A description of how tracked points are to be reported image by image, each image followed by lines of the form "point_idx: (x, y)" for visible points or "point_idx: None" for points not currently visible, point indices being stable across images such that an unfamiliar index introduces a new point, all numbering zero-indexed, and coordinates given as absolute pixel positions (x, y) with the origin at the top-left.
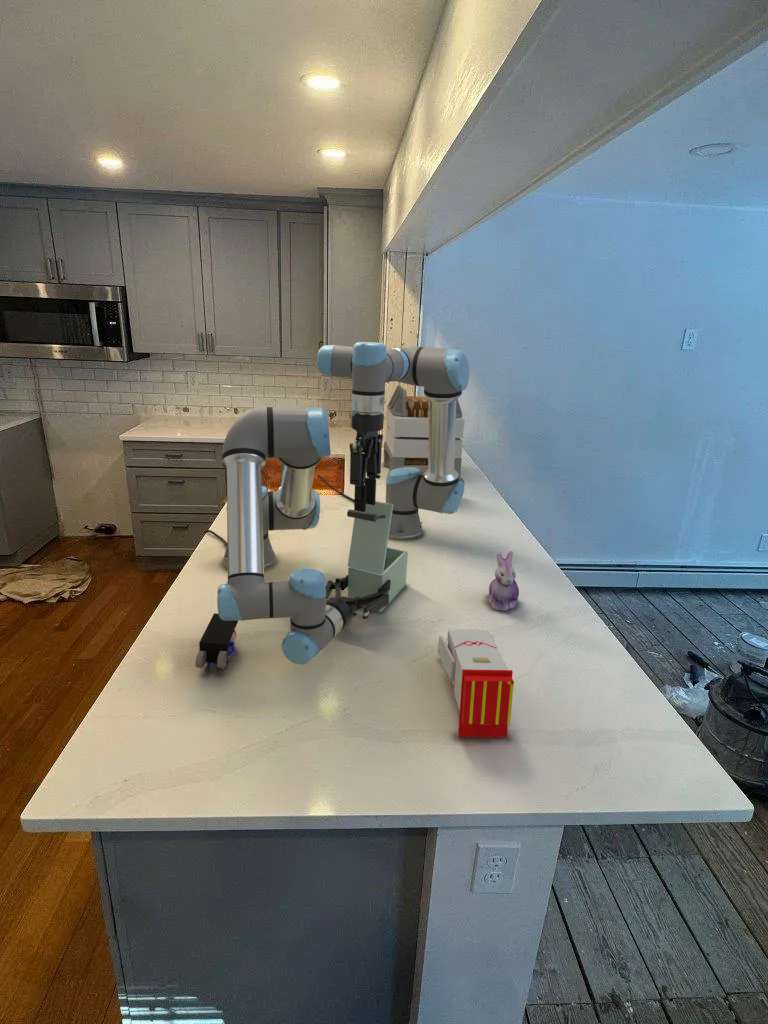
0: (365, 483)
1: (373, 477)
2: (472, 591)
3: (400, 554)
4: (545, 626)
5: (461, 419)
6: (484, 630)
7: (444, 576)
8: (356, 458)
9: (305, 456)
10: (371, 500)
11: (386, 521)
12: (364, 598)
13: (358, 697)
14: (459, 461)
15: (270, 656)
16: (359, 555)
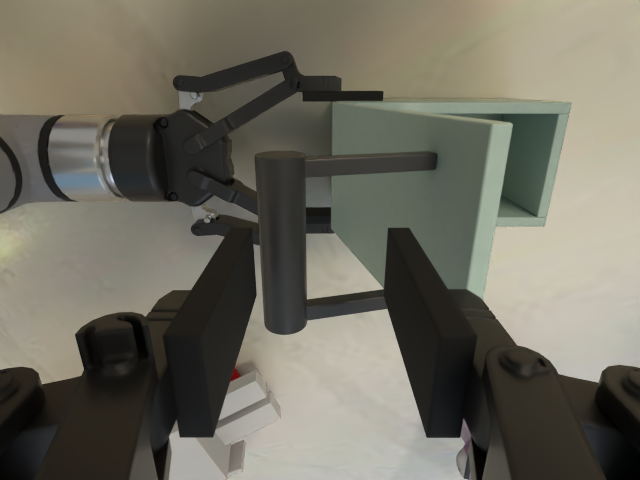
0: (424, 310)
1: (469, 425)
2: (514, 334)
3: (533, 201)
4: (421, 462)
5: None
6: (220, 475)
7: (575, 261)
8: None
9: None
10: (388, 293)
11: None
12: (244, 203)
13: (46, 277)
14: None
15: (23, 51)
16: (346, 149)
